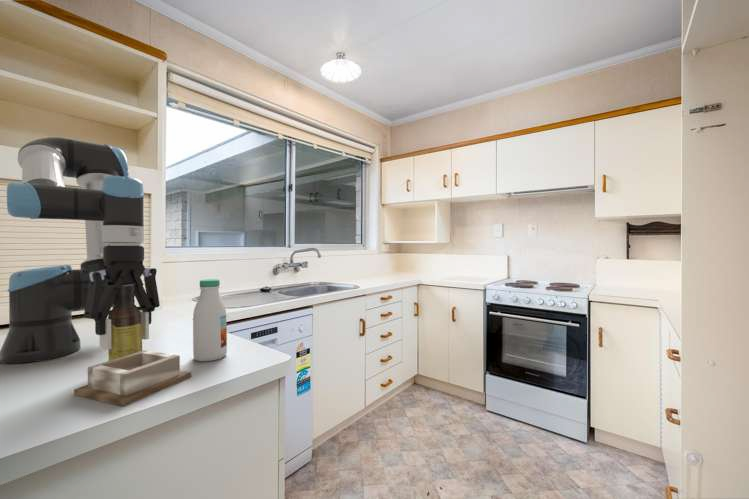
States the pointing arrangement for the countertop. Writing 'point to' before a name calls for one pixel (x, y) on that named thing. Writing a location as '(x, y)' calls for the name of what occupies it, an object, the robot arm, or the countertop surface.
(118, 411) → the countertop surface
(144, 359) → the socket board
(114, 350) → the sauce bottle
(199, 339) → the milk bottle
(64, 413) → the countertop surface
